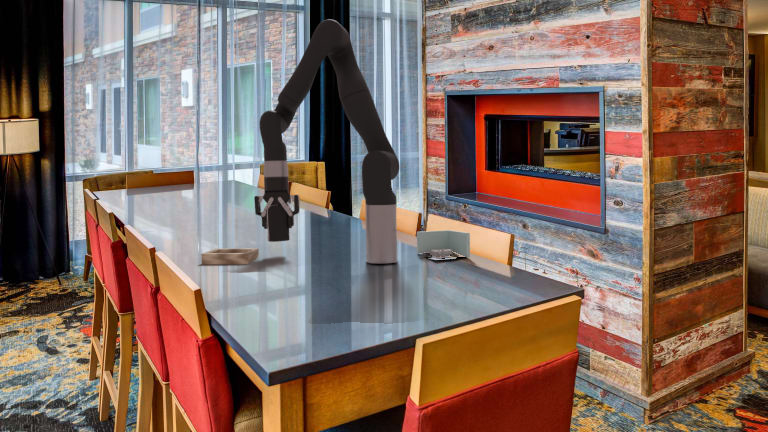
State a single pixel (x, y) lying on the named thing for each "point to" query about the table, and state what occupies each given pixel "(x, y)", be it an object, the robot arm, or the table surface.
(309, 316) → the table surface
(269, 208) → the battery charger
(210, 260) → the beige square frame
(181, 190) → the table surface
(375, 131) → the robot arm
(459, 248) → the l-shaped corner panel
